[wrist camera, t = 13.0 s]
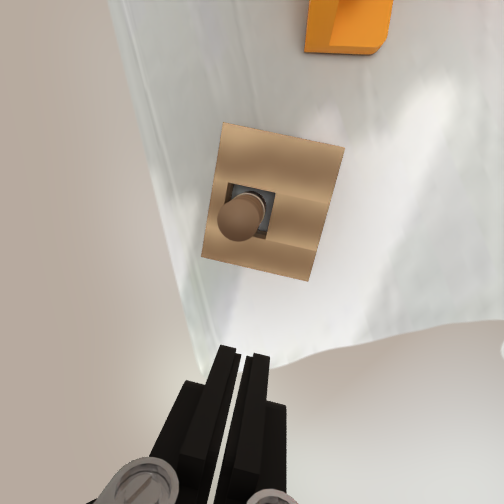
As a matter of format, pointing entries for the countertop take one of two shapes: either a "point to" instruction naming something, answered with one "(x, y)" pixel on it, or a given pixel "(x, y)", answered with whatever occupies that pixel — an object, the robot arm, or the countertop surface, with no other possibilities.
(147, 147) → the countertop surface
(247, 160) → the board
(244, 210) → the peg
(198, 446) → the robot arm
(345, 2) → the bracket
